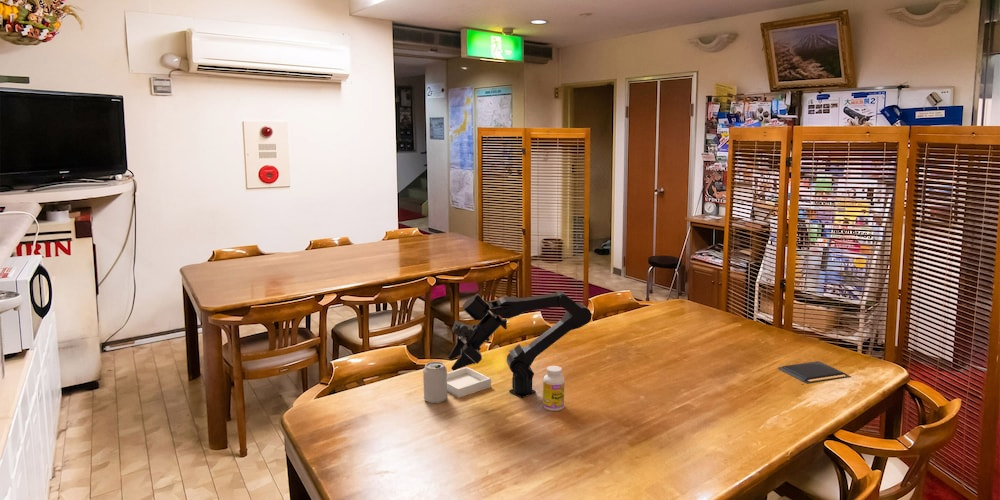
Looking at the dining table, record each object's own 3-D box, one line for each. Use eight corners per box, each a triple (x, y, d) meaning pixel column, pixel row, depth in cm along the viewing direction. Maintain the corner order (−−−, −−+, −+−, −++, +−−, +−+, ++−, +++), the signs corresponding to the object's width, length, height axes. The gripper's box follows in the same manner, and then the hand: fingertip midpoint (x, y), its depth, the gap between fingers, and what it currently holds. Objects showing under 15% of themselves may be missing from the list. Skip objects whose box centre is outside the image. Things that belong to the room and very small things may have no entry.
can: (443, 405, 194) (442, 369, 192) (420, 403, 196) (419, 367, 193) (450, 395, 201) (449, 360, 199) (428, 393, 203) (427, 359, 200)
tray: (490, 386, 208) (490, 378, 207) (458, 397, 199) (458, 389, 199) (466, 374, 218) (466, 366, 218) (434, 384, 210) (434, 376, 209)
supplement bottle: (550, 413, 188) (550, 374, 186) (538, 405, 194) (539, 366, 192) (568, 409, 191) (569, 370, 189) (556, 400, 197) (557, 363, 195)
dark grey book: (820, 358, 229) (853, 374, 215) (820, 363, 229) (853, 379, 215) (775, 364, 224) (806, 380, 210) (774, 369, 224) (805, 385, 210)
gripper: (463, 304, 204) (430, 338, 204) (470, 322, 186) (434, 359, 186) (486, 326, 207) (454, 359, 207) (496, 345, 189) (461, 381, 189)
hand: (450, 364), depth 197 cm, fingers open, 9 cm apart
